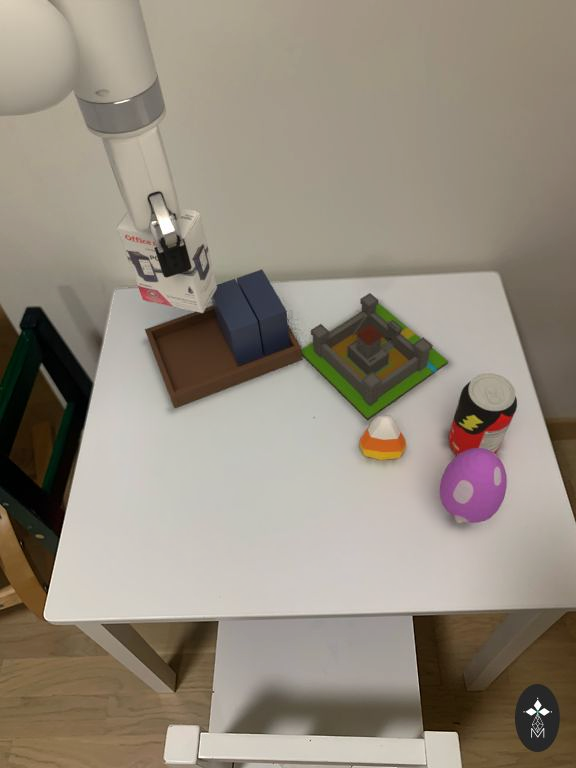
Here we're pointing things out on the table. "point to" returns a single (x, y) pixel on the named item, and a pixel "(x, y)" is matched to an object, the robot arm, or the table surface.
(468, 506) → the toy
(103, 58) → the robot arm
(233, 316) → the matching cartons
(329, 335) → the castle model
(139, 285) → the ink box
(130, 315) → the table surface
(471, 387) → the beverage can
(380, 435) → the candy corn
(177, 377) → the tray
